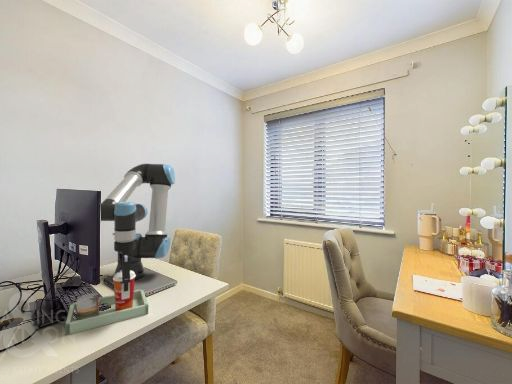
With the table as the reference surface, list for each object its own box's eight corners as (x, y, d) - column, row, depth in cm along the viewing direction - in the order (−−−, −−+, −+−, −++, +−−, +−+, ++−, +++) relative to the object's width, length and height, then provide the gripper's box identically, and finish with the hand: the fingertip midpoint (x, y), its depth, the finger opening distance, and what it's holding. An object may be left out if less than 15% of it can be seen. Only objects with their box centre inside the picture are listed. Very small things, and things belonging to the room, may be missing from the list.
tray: (70, 314, 92) (70, 303, 92) (142, 298, 106) (142, 288, 106) (65, 338, 79) (65, 325, 79) (148, 316, 93) (148, 305, 93)
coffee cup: (110, 308, 95) (110, 273, 95) (131, 302, 101) (132, 268, 101) (115, 317, 89) (115, 279, 89) (138, 309, 95) (138, 274, 95)
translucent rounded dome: (77, 315, 90) (77, 295, 89) (99, 310, 94) (99, 291, 93) (75, 325, 84) (75, 304, 83) (99, 320, 88) (99, 299, 87)
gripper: (113, 234, 102) (112, 281, 103) (115, 249, 82) (114, 308, 83) (132, 232, 106) (131, 278, 107) (139, 246, 86) (138, 302, 87)
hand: (124, 291), depth 95 cm, fingers open, 13 cm apart
